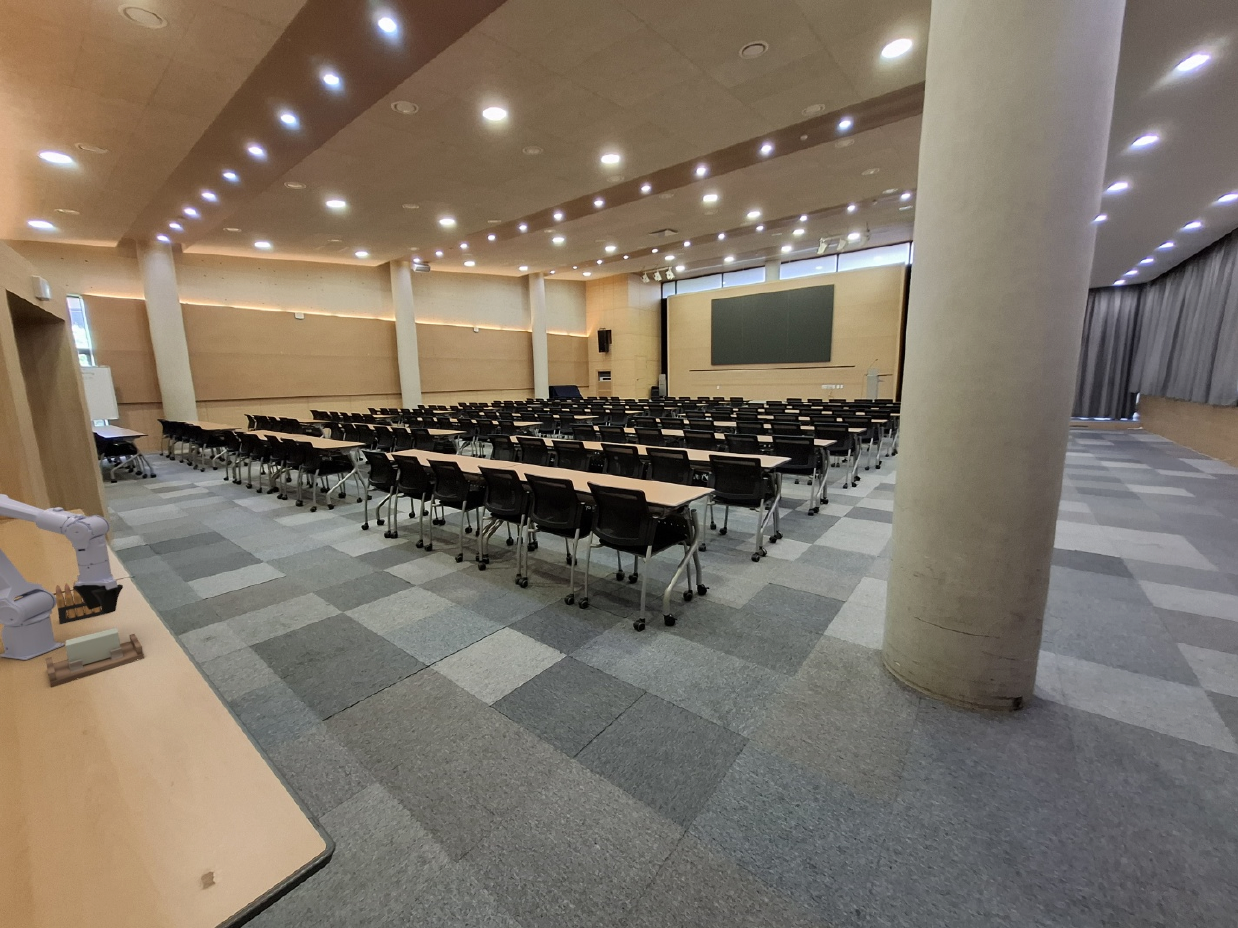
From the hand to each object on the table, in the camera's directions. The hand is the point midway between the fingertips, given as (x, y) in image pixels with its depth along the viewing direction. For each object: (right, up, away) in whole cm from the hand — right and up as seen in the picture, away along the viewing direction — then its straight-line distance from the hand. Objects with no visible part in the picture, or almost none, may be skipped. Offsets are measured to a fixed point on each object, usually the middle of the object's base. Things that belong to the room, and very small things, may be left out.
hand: (102, 610), depth 133 cm
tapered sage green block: (+6, -10, -8) cm, 14 cm away
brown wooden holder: (+6, -12, -7) cm, 15 cm away
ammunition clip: (-25, -8, +19) cm, 32 cm away
